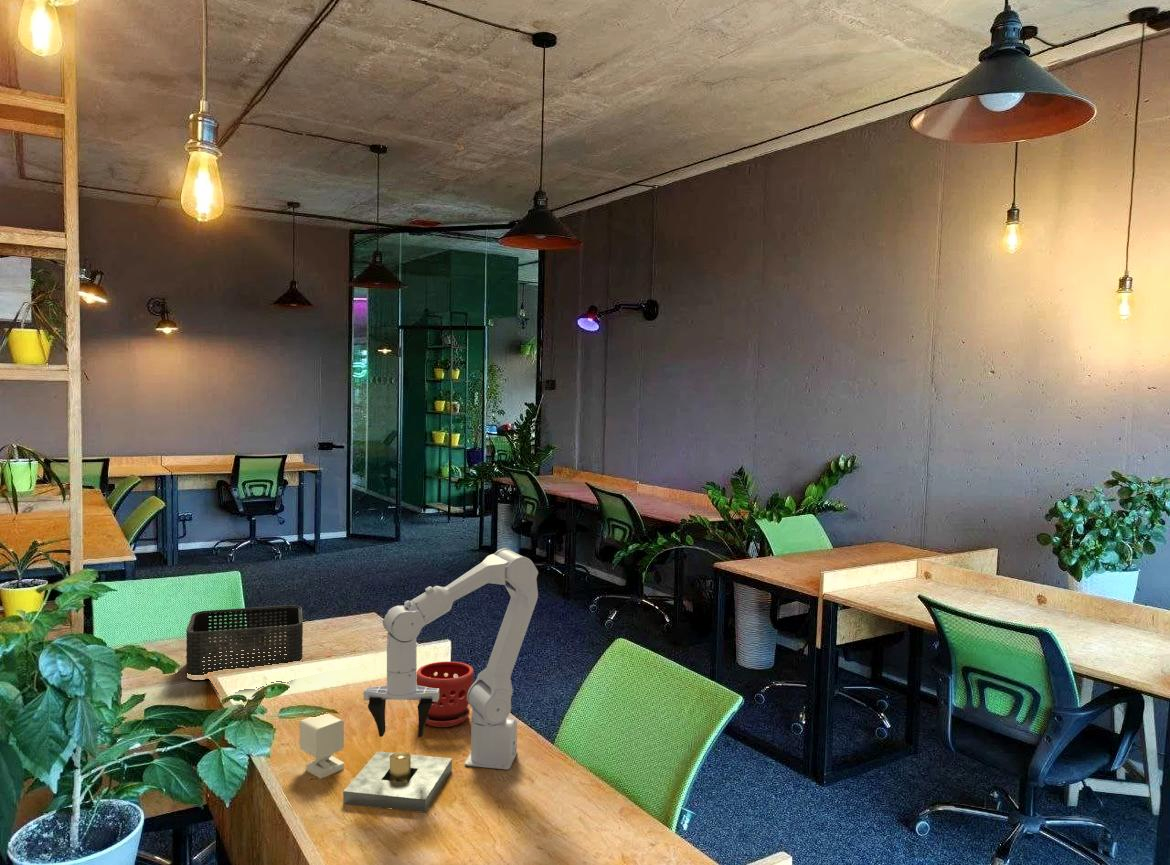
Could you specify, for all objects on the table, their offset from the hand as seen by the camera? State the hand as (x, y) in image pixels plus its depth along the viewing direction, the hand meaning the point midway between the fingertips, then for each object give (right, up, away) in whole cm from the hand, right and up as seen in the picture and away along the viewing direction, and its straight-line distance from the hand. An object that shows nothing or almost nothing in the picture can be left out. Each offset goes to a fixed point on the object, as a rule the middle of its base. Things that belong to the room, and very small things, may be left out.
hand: (401, 734), depth 159 cm
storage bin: (-56, -4, +60) cm, 82 cm away
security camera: (-17, -9, +5) cm, 20 cm away
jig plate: (0, -10, -2) cm, 10 cm away
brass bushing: (0, -10, -2) cm, 10 cm away
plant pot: (+4, -7, +29) cm, 30 cm away
